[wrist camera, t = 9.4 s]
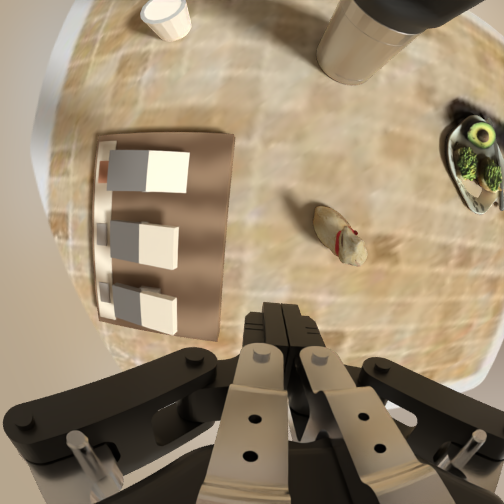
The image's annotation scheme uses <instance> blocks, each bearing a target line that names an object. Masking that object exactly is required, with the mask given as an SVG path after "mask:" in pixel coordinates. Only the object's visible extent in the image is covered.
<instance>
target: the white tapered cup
mask: <svg viewBox="0 0 504 504" xmlns="http://www.w3.org/2000/svg"><path fill="white" fill-rule="evenodd" d="M140 15H141V19H142V20H143V21H144V22H145V23H146V24H147V25H148V26H149V27H150V28H151V29H152V30H153V31H154V32H155V33H156V34H157V35H158V36H159V37H160V38H161V39H162V40H164V41H175V40H178V39H181V38H182V37H184V36H185V35H187V33H188V32H189V31H190V29H191V26H192V25H191V21H190V16H189V12H188V8H187V3H186V0H149V1H148V2H147V3H146V4H145V5H144V6H143V8H142V10H141V12H140Z"/></svg>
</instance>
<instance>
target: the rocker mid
mask: <svg viewBox="0 0 504 504" xmlns="http://www.w3.org/2000/svg"><path fill="white" fill-rule="evenodd" d="M178 234H179V227H175V226H167V225H158V224H150V223H148V222H133V221H124V220H111V221H110V257H111V258H116V259H120V260H125V261H130V262H135V263H140V264H145V265H150V266H155V267H160V268H165V269H170V270H174V269H176V268H177V261H178Z"/></svg>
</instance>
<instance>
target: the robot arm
mask: <svg viewBox="0 0 504 504" xmlns="http://www.w3.org/2000/svg"><path fill="white" fill-rule="evenodd" d="M482 1H484V0H340V1H339V3H338V5H337V7H336V9H335V12H334V14H333V16H332V18H331V20H330V22H329V24H328V26H327V29H326V31H325V33H324V35H323V37H322V39H321V41H320V43H319V46H318V48H317V52H316V57H317V61H318V63H319V65H320V67H321V68H322V70H323V71H324V72H325V73H326V74H327V75H328V76H329V77H331V78H332V79H334V80H336V81H338V82H340V83H343V84H347V85H359V84H362V83H364V82H366V81H367V80H368V79H369V78H370V77H372V76H373V75H374V74H375V73H376V72H377V71H379V70H380V69H381V68H382V67H383V66H384V65H385V64H386V63H388V62H389V61H390V60H391V59H392V58H393V57H394V56H396V55H397V54H398V53H399V52H400V51H401V50H402V49H404V48H405V47H406V46H407V45H408V44H409V43H411V42H412V41H413V40H414V39H415V38H416V37H418V36H419V35H420V34H421V33H422V32H424V31H425V30H426V29H428V28H436V27H440V26H442V25H444V24H445V23H447V22H448V21H450V20H451V19H453V18H455V17H456V16H458V15H460V14H462V13H463V12H465V11H467V10H469V9H470V8H472V7H474V6H476V5H477V4H479V3H481V2H482ZM388 400H389V401H390V402H392V403H394V404H396V405H398V406H400V407H402V408H404V409H406V410H407V411H409V412H412V413H413V414H414V415H415V416H416V417H417V425H416V426H414V427H409V426H407V425H405V424H403V423H401V422H399V421H397V420H395V419H394V418H392V417H391V416H390V414H389V413H388V411H387V409H386V408H385V405H386V403H387V401H388ZM174 402H175V403H174ZM172 403H173V404H172ZM170 404H171V405H170ZM168 405H169V406H168ZM166 406H167V407H166ZM164 407H165V408H164ZM162 408H163V409H162ZM160 409H161V410H160ZM158 410H159V411H158ZM219 420H221V421H220V425H219V428H218V432H217V436H216V440H215V444H213V445H208V446H204V447H201V448H198V449H195V450H193V451H191V452H189V453H186V454H184V455H183V456H181V457H179V458H178V459H176V460H175V461H173V462H171V463H170V464H168V465H167V466H165V467H163V468H162V469H160V470H158V471H157V472H155V473H153V474H152V475H150V476H148V477H146V478H145V479H143V480H141V481H139V482H138V483H135V484H133V485H132V486H130V487H128V488H126V489H124V490H122V491H120V490H121V488H122V486H123V482H124V479H123V476H124V475H127V474H129V473H131V472H133V471H135V470H137V469H139V468H141V467H143V466H145V465H147V464H149V463H151V462H153V461H155V460H157V459H158V458H160V457H162V456H164V455H166V454H168V453H169V452H171V451H173V450H175V449H176V448H178V447H180V446H182V445H183V444H185V443H187V442H188V441H190V440H192V439H193V438H195V437H197V436H198V435H200V434H201V433H203V432H205V431H206V430H208V429H209V428H211V427H212V426H213V425H214V423H215V421H219ZM288 423H289V428H290V432H291V436H292V441H289V440H288ZM3 427H4V431H5V433H6V434H7V436H8V437H9V439H10V440H11V442H12V443H13V444H14V446H15V447H16V448H17V450H18V452H19V454H20V456H21V457H22V458H23V459H24V461H25V462H26V463H27V464H28V465H29V467H30V470H31V472H32V474H33V477H34V479H35V481H36V483H37V485H38V487H39V490H40V492H41V494H42V495H43V498H44V499H45V501H46V503H47V504H504V503H503V501H502V500H501V498H499V496H497V495H496V494H495V493H494V492H495V490H496V487H497V484H498V480H499V477H500V474H501V470H502V466H503V463H504V412H503V411H501V410H499V409H496V408H494V407H491V406H489V405H487V404H484V403H482V402H480V401H477V400H475V399H473V398H470V397H468V396H466V395H464V394H461V393H459V392H457V391H455V390H452V389H450V388H448V387H446V386H443V385H441V384H439V383H437V382H435V381H433V380H430V379H428V378H426V377H424V376H422V375H420V374H418V373H415V372H413V371H411V370H409V369H407V368H405V367H403V366H401V365H399V364H397V363H395V362H392V361H390V360H388V359H385V358H380V357H372V358H368V359H366V360H365V361H364V363H363V365H362V368H359V367H353V366H348V365H344V364H343V362H342V361H341V359H340V357H339V356H338V354H337V353H336V352H334V351H333V350H331V349H328V348H326V346H325V344H324V342H323V339H322V337H321V334H320V332H319V330H318V327H317V325H316V322H315V321H314V320H313V319H311V318H310V317H309V316H301V313H300V310H299V307H298V305H295V304H282V303H281V305H280V303H269V302H263V307H262V313H260V312H250V313H249V314H248V315H246V316H245V324H244V334H243V344H242V349H241V351H240V354H239V355H238V356H236V357H234V358H231V359H226V360H217V357H216V356H215V355H214V354H213V353H212V352H210V351H209V350H206V349H203V348H197V347H189V348H184V349H181V350H178V351H176V352H173V353H171V354H168V355H166V356H163V357H161V358H158V359H156V360H153V361H151V362H148V363H145V364H143V365H140V366H137V367H135V368H132V369H129V370H127V371H124V372H121V373H118V374H116V375H113V376H110V377H107V378H104V379H101V380H99V381H96V382H92V383H90V384H86V385H83V386H80V387H77V388H74V389H71V390H68V391H64V392H61V393H58V394H54V395H51V396H48V397H44V398H40V399H37V400H33V401H30V402H26V403H22V404H19V405H16V406H14V407H12V408H11V409H9V410H8V412H7V413H6V414H5V416H4V419H3ZM119 491H120V492H119Z"/></svg>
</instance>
